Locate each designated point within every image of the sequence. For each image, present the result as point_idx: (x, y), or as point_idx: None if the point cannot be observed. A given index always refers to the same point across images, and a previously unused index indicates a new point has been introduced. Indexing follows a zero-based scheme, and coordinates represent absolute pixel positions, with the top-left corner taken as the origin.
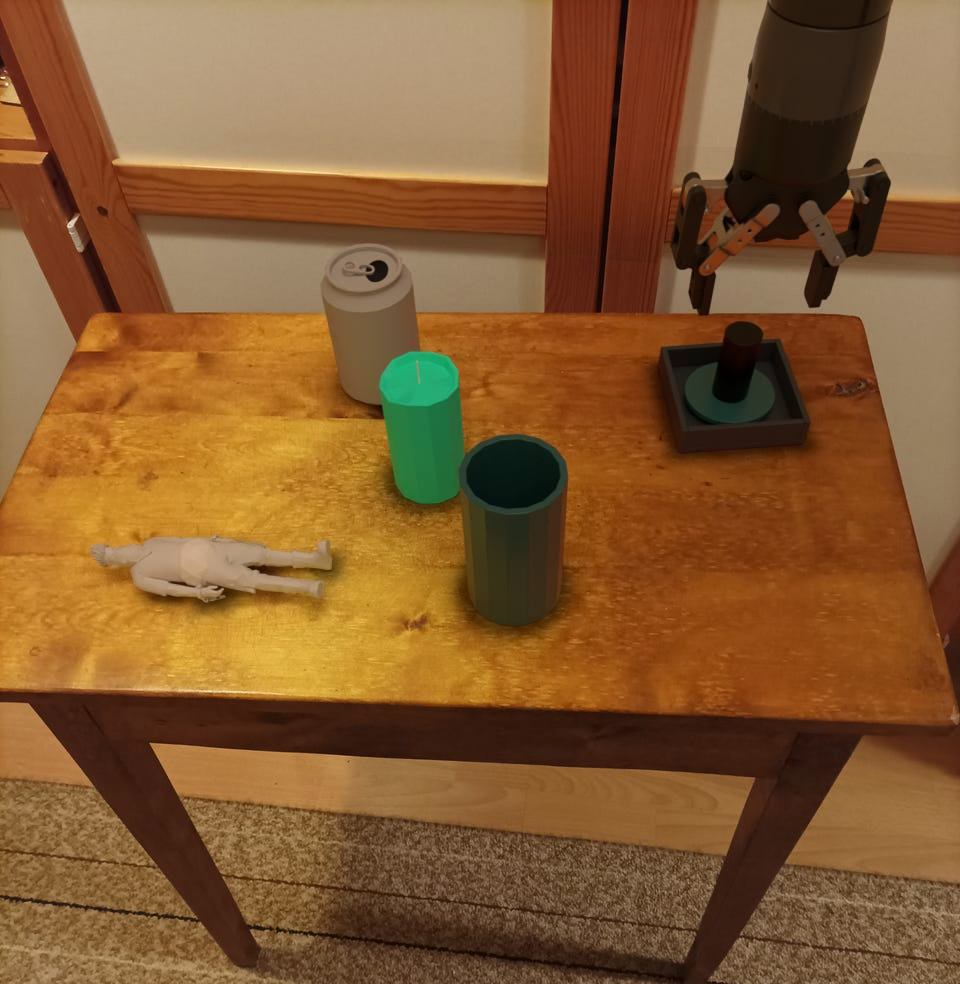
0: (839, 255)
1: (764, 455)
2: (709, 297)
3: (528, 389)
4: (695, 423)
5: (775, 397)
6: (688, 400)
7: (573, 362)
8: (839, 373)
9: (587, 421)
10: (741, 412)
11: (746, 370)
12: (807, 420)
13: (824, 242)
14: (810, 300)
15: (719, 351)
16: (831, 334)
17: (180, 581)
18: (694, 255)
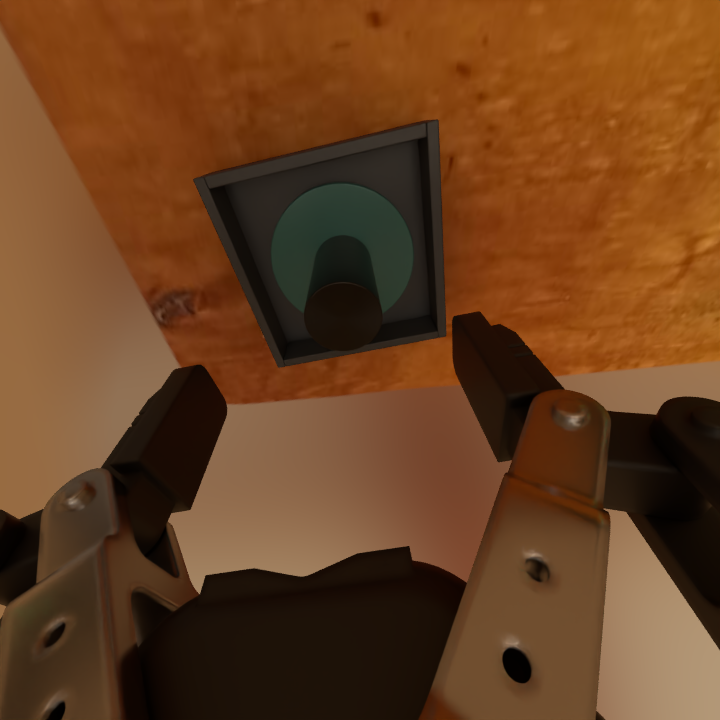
0: (63, 509)
1: (272, 133)
2: (482, 343)
3: (628, 258)
4: (393, 197)
5: (272, 272)
6: (409, 235)
7: (546, 317)
8: (195, 333)
9: (562, 193)
10: (322, 214)
11: (326, 260)
12: (200, 183)
13: (67, 578)
14: (200, 381)
15: None
16: (221, 392)
17: None
18: (650, 460)
